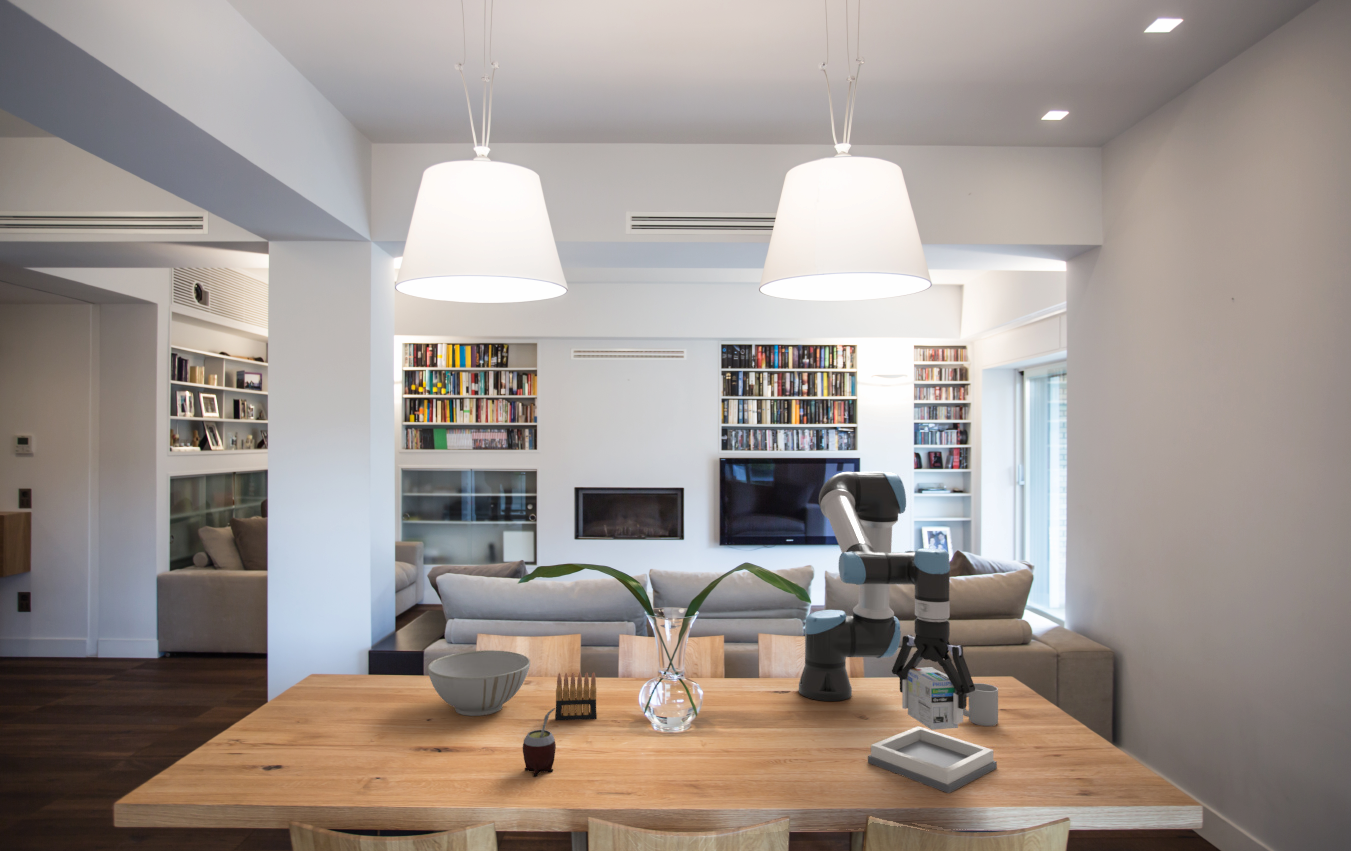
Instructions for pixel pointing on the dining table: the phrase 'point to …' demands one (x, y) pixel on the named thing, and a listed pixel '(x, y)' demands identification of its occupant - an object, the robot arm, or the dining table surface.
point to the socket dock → (933, 758)
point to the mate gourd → (539, 750)
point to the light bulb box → (931, 698)
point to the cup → (983, 705)
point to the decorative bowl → (478, 679)
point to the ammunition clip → (576, 699)
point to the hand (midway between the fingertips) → (932, 715)
